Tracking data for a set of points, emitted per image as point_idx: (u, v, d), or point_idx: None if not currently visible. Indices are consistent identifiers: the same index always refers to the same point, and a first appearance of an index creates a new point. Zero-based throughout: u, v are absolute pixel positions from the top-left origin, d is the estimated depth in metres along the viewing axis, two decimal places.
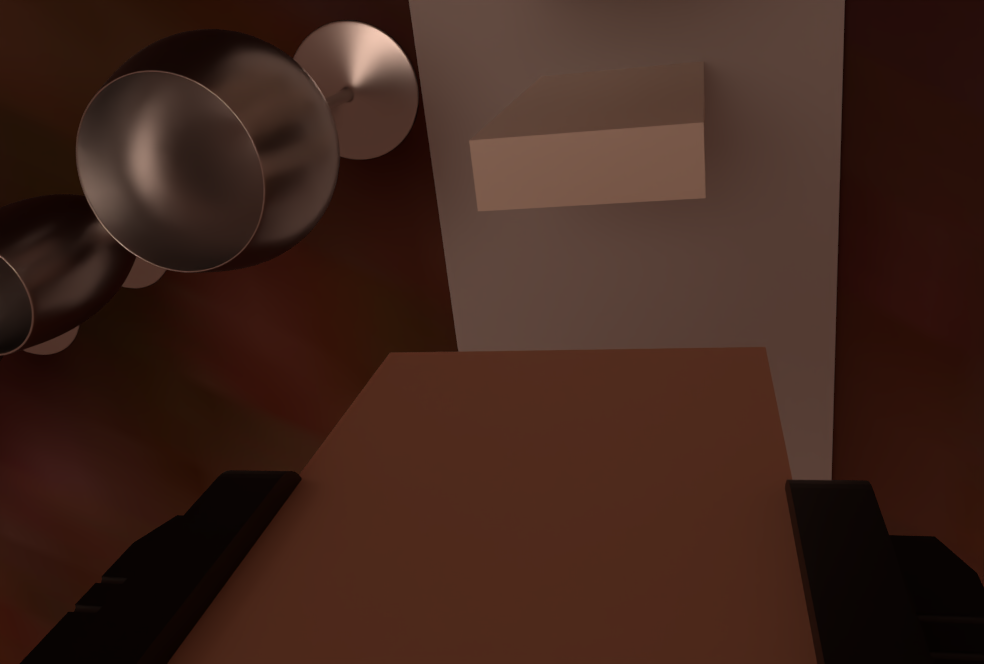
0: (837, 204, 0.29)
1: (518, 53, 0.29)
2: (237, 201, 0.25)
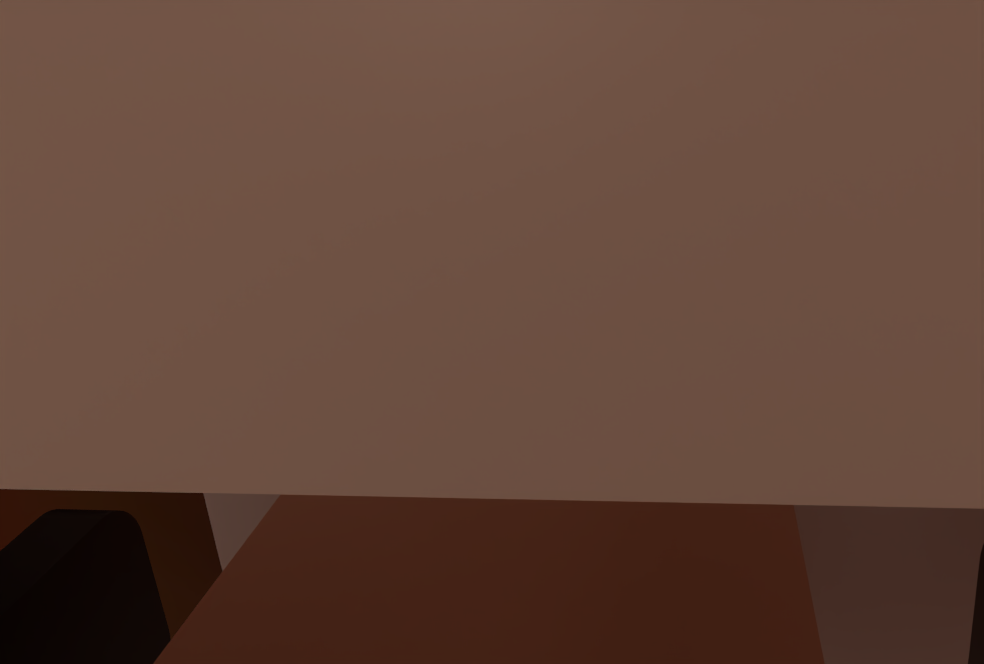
0: None
1: None
2: None
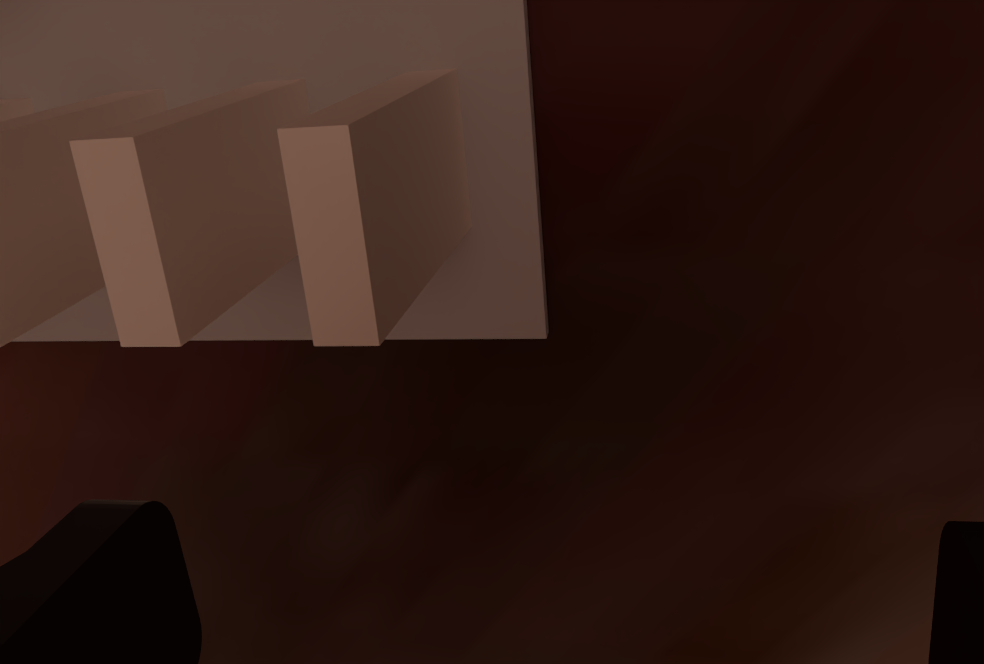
0: None
1: (44, 75, 0.31)
2: None
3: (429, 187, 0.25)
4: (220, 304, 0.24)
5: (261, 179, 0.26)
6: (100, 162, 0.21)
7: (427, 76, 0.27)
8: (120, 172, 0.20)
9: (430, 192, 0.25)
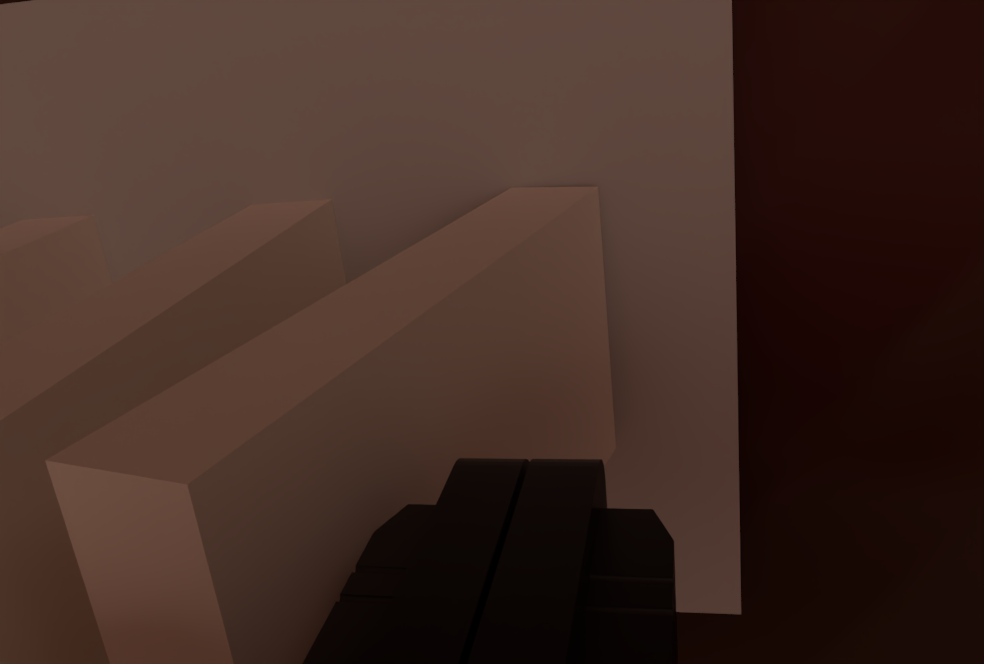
0: None
1: None
2: None
3: (508, 449, 0.13)
4: None
5: None
6: None
7: (533, 212, 0.14)
8: None
9: None
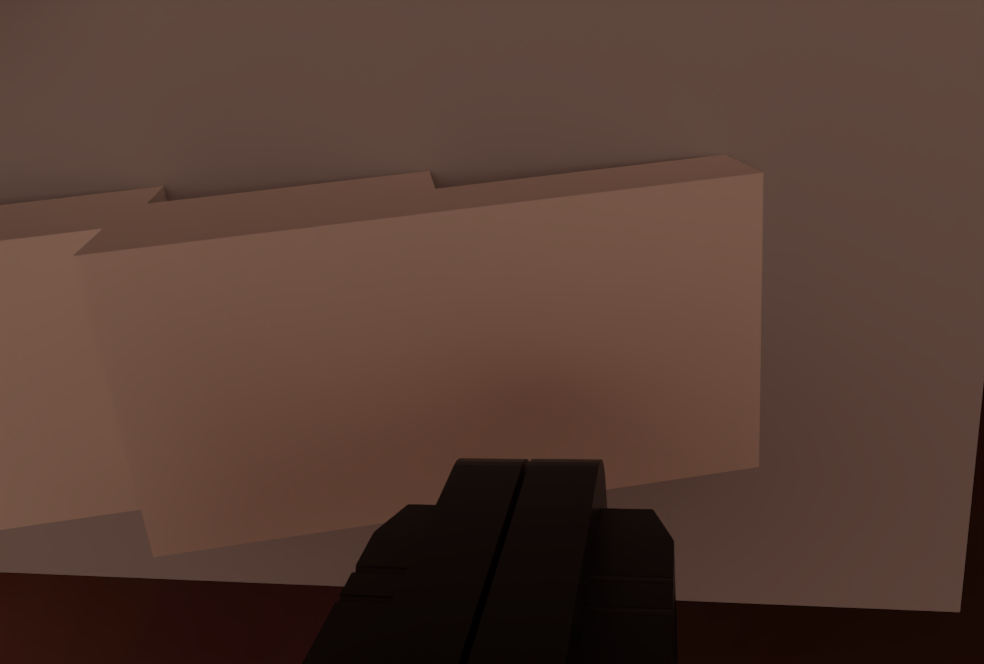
0: None
1: (66, 158, 0.17)
2: None
3: (486, 376, 0.14)
4: (15, 515, 0.16)
5: None
6: None
7: (643, 179, 0.14)
8: None
9: (484, 383, 0.14)
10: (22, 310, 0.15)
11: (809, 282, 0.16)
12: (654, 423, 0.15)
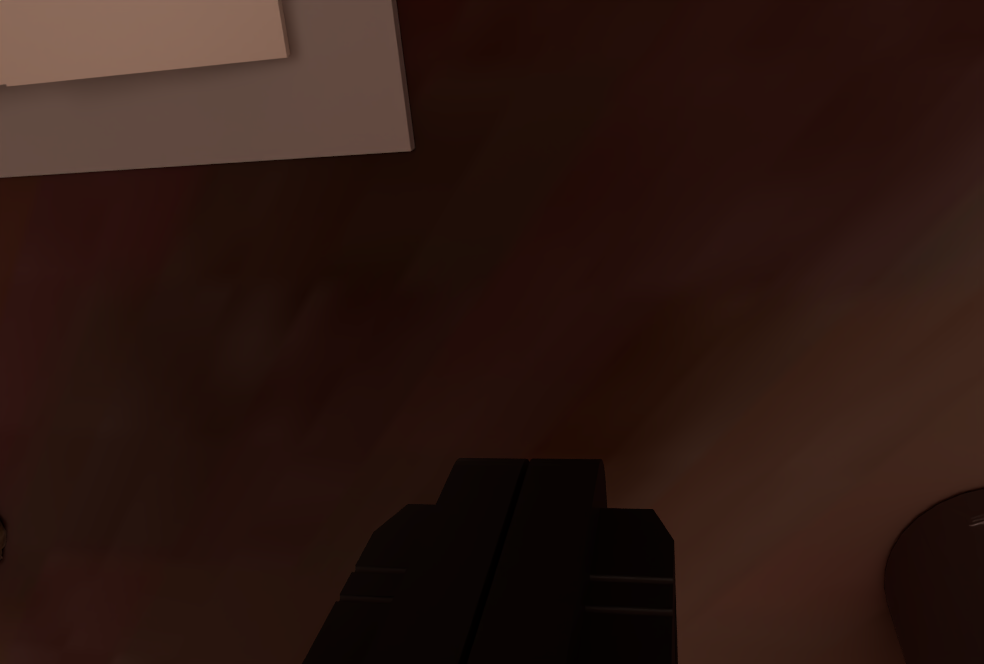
0: None
1: None
2: None
3: (150, 2, 0.33)
4: None
5: None
6: None
7: None
8: None
9: (150, 6, 0.33)
10: None
11: None
12: (232, 31, 0.33)
